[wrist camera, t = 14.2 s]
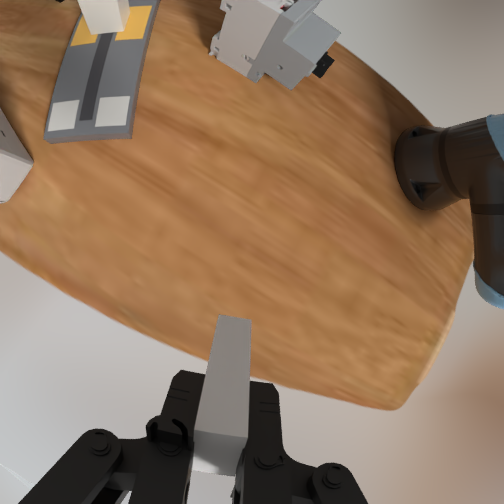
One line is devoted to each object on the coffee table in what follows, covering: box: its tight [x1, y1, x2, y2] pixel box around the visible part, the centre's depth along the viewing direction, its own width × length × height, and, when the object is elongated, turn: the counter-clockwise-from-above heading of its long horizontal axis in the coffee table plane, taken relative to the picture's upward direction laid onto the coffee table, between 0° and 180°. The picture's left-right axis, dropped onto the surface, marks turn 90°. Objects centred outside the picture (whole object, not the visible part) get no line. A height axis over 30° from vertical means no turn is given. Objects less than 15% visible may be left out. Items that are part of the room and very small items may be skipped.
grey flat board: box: [44, 0, 160, 144], centre depth 29 cm, size 12×26×3 cm, turn 178°
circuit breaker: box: [209, 0, 341, 90], centre depth 28 cm, size 8×14×15 cm, turn 57°
